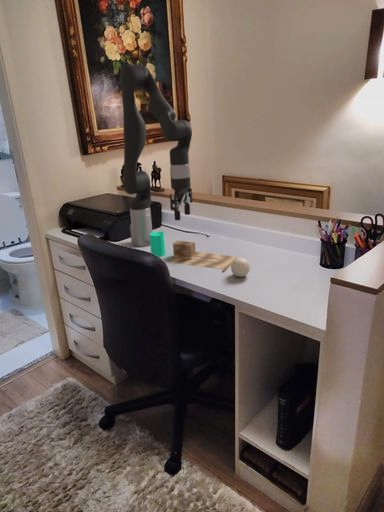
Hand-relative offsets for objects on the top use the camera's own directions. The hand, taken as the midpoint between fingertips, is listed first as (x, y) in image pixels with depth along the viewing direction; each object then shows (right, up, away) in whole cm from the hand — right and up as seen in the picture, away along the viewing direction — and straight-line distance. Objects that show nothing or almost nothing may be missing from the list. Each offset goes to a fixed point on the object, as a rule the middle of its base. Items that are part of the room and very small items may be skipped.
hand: (182, 217), depth 151 cm
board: (+8, -18, +3) cm, 20 cm away
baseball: (+22, -23, -12) cm, 34 cm away
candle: (-10, -16, +11) cm, 22 cm away
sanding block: (+1, -16, +6) cm, 17 cm away
